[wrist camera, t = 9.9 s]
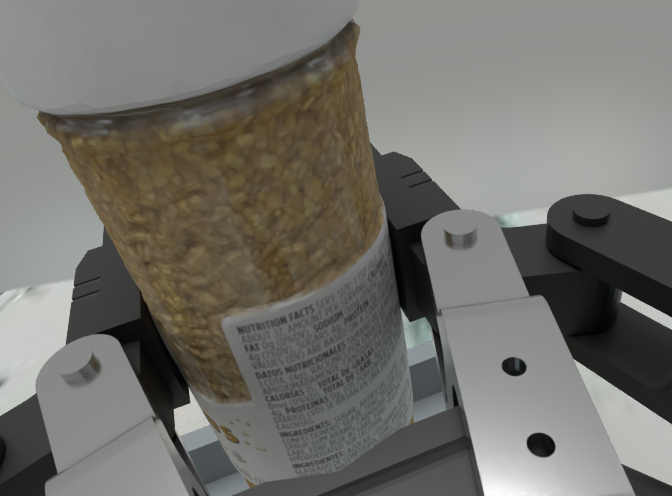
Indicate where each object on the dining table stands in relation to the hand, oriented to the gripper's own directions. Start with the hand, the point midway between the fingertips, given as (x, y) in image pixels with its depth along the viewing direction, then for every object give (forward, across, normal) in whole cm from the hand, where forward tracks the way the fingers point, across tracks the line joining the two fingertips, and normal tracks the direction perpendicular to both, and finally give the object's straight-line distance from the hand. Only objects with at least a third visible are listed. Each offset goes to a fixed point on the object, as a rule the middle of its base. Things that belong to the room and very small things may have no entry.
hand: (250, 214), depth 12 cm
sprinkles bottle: (-3, 0, +7) cm, 8 cm away
